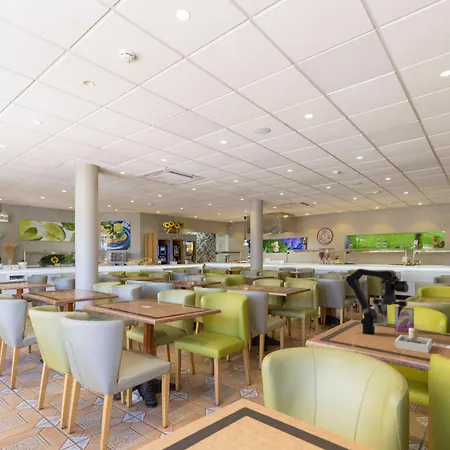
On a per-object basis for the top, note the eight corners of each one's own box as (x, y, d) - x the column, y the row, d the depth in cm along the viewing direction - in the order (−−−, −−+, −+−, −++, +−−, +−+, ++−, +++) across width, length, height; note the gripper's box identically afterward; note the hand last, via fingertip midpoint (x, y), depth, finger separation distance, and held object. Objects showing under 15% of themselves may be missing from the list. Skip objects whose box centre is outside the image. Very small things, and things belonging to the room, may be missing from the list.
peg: (411, 348, 193) (410, 329, 194) (408, 345, 198) (407, 327, 198) (419, 348, 193) (418, 329, 194) (416, 345, 197) (415, 328, 198)
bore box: (395, 347, 194) (394, 340, 194) (400, 341, 206) (400, 334, 207) (428, 353, 184) (427, 345, 184) (431, 346, 197) (431, 338, 197)
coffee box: (386, 323, 253) (386, 301, 254) (387, 325, 247) (387, 302, 248) (373, 323, 256) (372, 300, 257) (374, 324, 250) (373, 302, 250)
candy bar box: (394, 331, 231) (394, 306, 232) (395, 329, 235) (395, 305, 236) (414, 333, 225) (413, 307, 226) (414, 331, 229) (413, 306, 230)
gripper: (370, 291, 216) (371, 316, 215) (403, 293, 204) (404, 320, 203) (374, 289, 224) (375, 313, 224) (407, 291, 213) (408, 317, 212)
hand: (390, 316), depth 216 cm, fingers open, 9 cm apart
